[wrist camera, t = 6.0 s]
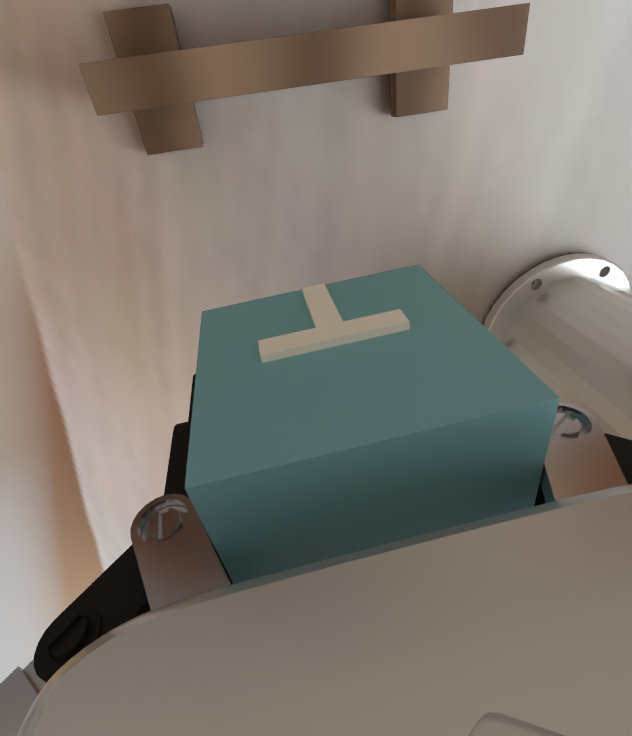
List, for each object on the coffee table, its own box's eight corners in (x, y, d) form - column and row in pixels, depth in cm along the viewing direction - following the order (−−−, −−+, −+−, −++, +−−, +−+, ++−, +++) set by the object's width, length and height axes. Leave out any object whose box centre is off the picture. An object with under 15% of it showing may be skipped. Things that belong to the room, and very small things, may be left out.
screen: (446, -29, 22) (540, -79, 15) (440, 108, 25) (514, 116, 18) (108, 14, 20) (49, -19, 14) (150, 152, 24) (119, 178, 17)
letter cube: (418, 257, 11) (562, 387, 7) (420, 423, 15) (514, 588, 10) (199, 304, 11) (180, 480, 6) (254, 463, 15) (269, 653, 10)
